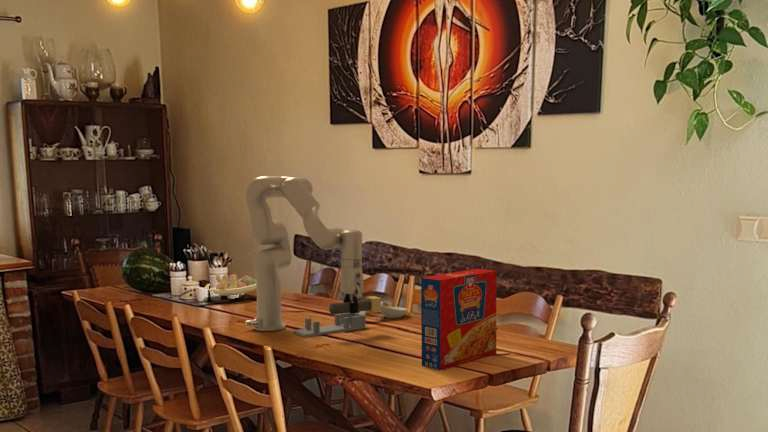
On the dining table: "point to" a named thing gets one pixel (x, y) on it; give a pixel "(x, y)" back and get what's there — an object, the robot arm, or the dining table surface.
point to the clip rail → (341, 324)
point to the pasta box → (458, 317)
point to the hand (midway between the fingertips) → (350, 311)
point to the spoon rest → (390, 311)
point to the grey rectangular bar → (366, 305)
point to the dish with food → (233, 285)
